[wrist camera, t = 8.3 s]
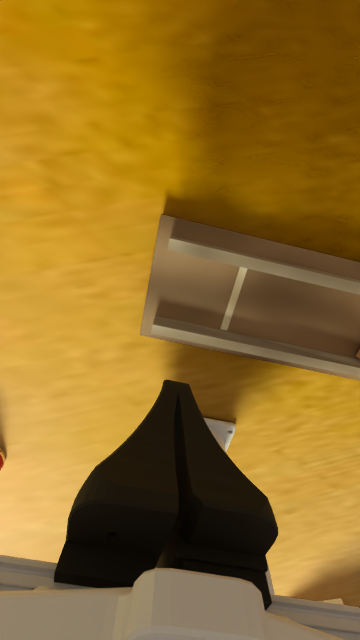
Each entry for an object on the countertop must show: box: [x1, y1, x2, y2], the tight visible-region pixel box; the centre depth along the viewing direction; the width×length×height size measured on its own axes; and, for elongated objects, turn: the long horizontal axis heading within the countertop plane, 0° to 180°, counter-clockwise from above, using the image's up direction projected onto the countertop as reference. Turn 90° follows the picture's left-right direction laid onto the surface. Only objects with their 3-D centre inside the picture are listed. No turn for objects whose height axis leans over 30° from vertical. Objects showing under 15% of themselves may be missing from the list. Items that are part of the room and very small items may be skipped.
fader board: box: [140, 214, 360, 380], centre depth 21 cm, size 10×28×3 cm, turn 77°
